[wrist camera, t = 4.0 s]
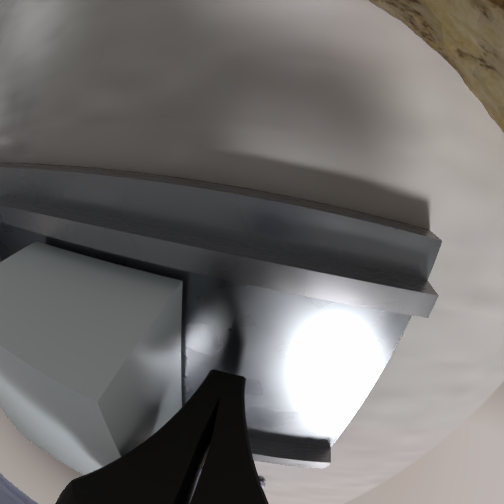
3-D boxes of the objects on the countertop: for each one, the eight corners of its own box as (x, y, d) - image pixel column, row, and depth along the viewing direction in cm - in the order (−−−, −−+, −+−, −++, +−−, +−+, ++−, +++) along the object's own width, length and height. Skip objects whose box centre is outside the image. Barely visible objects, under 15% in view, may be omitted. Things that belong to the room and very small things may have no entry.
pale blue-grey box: (183, 435, 13) (153, 513, 9) (54, 380, 14) (12, 434, 9) (182, 280, 9) (96, 402, 5) (12, 233, 10) (-71, 283, 5)
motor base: (318, 450, 14) (312, 536, 9) (0, 337, 16) (-42, 378, 11) (430, 230, 9) (533, 337, 3) (-37, 162, 11) (-106, 189, 5)
